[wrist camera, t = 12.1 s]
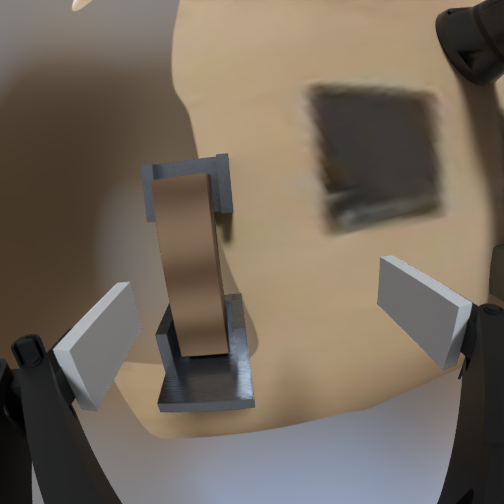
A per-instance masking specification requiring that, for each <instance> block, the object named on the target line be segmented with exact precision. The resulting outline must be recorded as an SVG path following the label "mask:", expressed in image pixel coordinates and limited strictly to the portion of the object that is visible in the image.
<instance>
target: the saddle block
mask: <svg viewBox="0 0 504 504" xmlns="http://www.w3.org/2000/svg"><path fill="white" fill-rule="evenodd" d="M141 170H142V181H143V190H144V198H145V207H146V215H147V222H154V221H156V219H155V211H154V203H153V195H152V186H151V180H157V179H164V178H171V177H178V176H185V175H193V174H200V173H207V174H210V178H211V188H212V198H213V208H214V212H219V211H221V213H232V212H233V203H232V192H231V181H230V170H229V159H228V153H227V154H217V155H216V157H209V158H201V159H193V160H186V161H178V162H171V163H164V164H159V165H157V164H153V163H151V164H145V165H141Z"/></svg>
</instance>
